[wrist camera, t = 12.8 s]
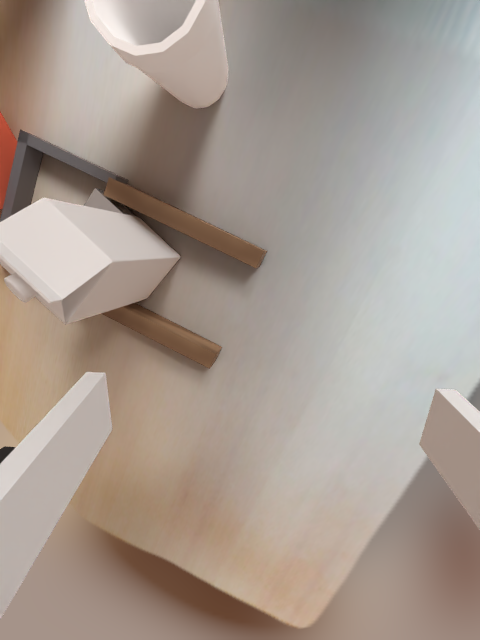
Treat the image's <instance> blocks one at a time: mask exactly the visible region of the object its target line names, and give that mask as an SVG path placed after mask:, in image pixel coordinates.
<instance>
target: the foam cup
mask: <svg viewBox="0 0 480 640" xmlns="http://www.w3.org/2000/svg"><path fill="white" fill-rule="evenodd" d="M84 1H85V4H86V8H87V11H88V15H89V18H90V21H91V22H92V23H93V25H94V26H95V27H96V28H97V30H98V31H99V32H100V33H101V35H102V36H103V37H104V38H105V40H106V41H107V42H108V43H109V45H110V46H111V47H112V48H113V49H114V50H115V51H116V52H117V53H118V54H119V56H120V57H121V58H122V59H123V60H124V61H125V62H126V63H128V64H130V65H132V66H134V67H137V68H138V69H139V70H141V71H142V72H143V73H144V74H146V75H147V76H148V77H150V78H151V79H152V80H153V81H155V82H156V83H157V84H159V85H160V86H161V87H163V88H164V89H165V90H166V91H168V92H169V93H170V94H172V95H173V96H174V97H176V98H177V99H178V100H179V101H181V102H183V103H184V104H186V105H188V106H190V107H193V108H195V109H196V108H205V107H209V106H210V105H212V104H213V103H215V102H216V101H217V100H219V98H220V97H221V95H222V93H223V92H224V90H225V89H226V87H227V80H228V74H229V70H228V62H227V55H226V48H225V42H224V35H223V28H222V21H221V15H220V8H219V1H218V0H84Z"/></svg>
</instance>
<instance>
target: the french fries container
mask: <svg viewBox="0 0 480 640" xmlns="http://www.w3.org/2000/svg"><path fill="white" fill-rule="evenodd" d="M16 146H17V141H16V139H15V137H14V135H13V133H12V132H11V130H10V128H9V126H8V124H7V123H6V121H5V119H4V117H3V115H2V114H1V112H0V210H1V209H2V208H3V205H4V200H5V196H6V191H7V187H8V182H9V178H10V173H11V169H12V164H13V160H14V155H15V151H16Z"/></svg>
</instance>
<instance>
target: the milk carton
mask: <svg viewBox="0 0 480 640" xmlns="http://www.w3.org/2000/svg"><path fill="white" fill-rule="evenodd" d="M179 259H180V255H179V254H178V253H177V252H176V251H174V250H173V249H172V248H171V247H170V246H169V245H168V244H167V243H166V242H165V241H164V240H163V239H162V238H161V237H160V236H159V235H157V234H156V233H155V232H154V231H153V230H152V229H151V228H150V227H149V226H148V225H147V224H146V223H145V222H144V221H143V220H141V219H140V218H139V217H136V216H131V215H127V214H122V213H117V212H112V211H107V210H102V209H97V208H92V207H88V206H83V205H78V204H73V203H68V202H63V201H58V200H53V199H49V198H44V197H43V198H41V199H40V200H38V201H36V202H34V203H33V204H31V205H29V206H27V207H26V208H24V209H22V210H21V211H19V212H17V213H15V214H14V215H12V216H10V217H8V218H7V219H5V220H3V221H2V222H0V264H1V265H2V266H3V267H4V268H5V269H6V270H7V271H8V272H9V273H10V274H11V275H9V276H7V277H6V278H5V279H4V281H5V283H6V285H7V287H8V288H9V289H10V291H11V292H12V293H13V294H14V295H15V296H16V297H17V298H18V299H20V300H21V301H23V302H28V301H29V300H31V299H32V298H34V297H36V298H37V299H38V300H39V301H40V302H41V303H42V304H43V305H44V306H46V307H47V308H48V309H49V310H50V311H51V312H52V313H53V314H54V315H55V316H56V317H57V318H59V319H60V320H61V321H62V322H63V323H64V324H65V325H66V324H70V323H73V322H76V321H79V320H82V319H86V318H89V317H92V316H95V315H98V314H101V313H104V312H107V311H110V310H113V309H116V308H120V307H123V306H126V305H129V304H132V303H135V302H138V301H141V300H144V299H147V298H148V297H149V296H150V294H151V293H152V292H153V291H154V289H155V288H156V287H157V286H158V285H159V283H160V282H161V281H162V280H163V278H164V277H165V276H166V275H167V273H168V272H169V271H170V270H171V269H172V267H173V266H174V265H175V264H176V262H177V261H178V260H179Z"/></svg>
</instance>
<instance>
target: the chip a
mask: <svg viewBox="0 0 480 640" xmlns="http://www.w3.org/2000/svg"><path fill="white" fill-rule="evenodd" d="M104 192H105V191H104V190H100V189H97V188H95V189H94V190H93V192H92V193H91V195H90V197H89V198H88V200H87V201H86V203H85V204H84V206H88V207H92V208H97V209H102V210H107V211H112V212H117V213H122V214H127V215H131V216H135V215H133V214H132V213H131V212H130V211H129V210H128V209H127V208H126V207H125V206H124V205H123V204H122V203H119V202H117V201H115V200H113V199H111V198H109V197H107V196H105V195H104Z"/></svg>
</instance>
